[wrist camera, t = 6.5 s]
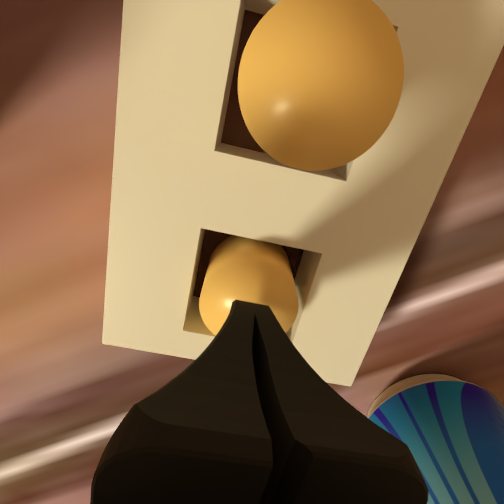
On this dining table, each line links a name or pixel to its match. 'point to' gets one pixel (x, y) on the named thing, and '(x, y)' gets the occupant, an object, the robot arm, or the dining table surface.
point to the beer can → (448, 435)
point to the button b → (320, 81)
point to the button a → (248, 281)
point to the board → (276, 176)
